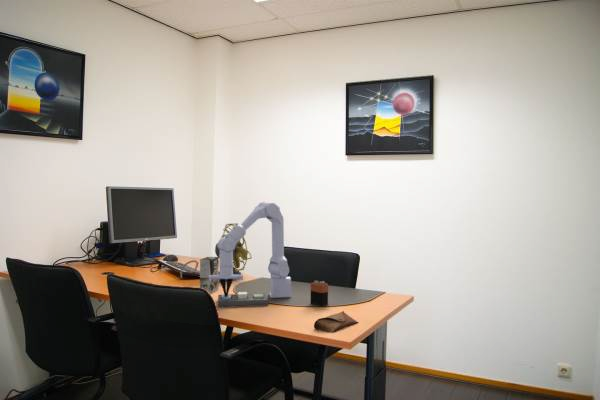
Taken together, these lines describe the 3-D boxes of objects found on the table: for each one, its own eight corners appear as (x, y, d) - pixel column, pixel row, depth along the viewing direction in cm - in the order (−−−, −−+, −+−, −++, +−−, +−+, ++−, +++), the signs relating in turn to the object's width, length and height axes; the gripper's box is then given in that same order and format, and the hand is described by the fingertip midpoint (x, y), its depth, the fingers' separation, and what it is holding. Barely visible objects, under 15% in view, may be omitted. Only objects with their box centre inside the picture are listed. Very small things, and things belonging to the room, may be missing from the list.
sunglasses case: (332, 333, 171) (325, 315, 173) (318, 339, 175) (311, 322, 177) (360, 322, 185) (352, 305, 187) (346, 328, 189) (339, 312, 191)
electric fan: (253, 280, 261) (253, 224, 260) (196, 287, 243) (196, 227, 242) (231, 272, 282) (231, 221, 281) (178, 278, 264) (178, 223, 263)
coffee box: (212, 293, 230) (212, 259, 229) (199, 292, 231) (199, 259, 231) (219, 289, 239) (219, 256, 238) (206, 288, 240) (206, 256, 240)
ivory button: (246, 298, 215) (246, 292, 215) (247, 300, 211) (247, 294, 211) (237, 299, 214) (237, 292, 214) (237, 301, 210) (237, 294, 210)
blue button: (230, 301, 214) (230, 295, 214) (230, 304, 210) (230, 297, 210) (221, 302, 213) (221, 295, 213) (221, 304, 209) (221, 297, 209)
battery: (321, 306, 208) (322, 283, 207) (310, 303, 212) (310, 280, 212) (328, 304, 211) (328, 281, 211) (316, 301, 216) (316, 279, 215)
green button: (262, 300, 216) (262, 294, 216) (263, 303, 212) (263, 296, 212) (253, 301, 215) (253, 294, 215) (254, 303, 212) (254, 296, 211)
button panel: (265, 298, 220) (265, 293, 220) (267, 305, 208) (267, 299, 208) (218, 300, 217) (218, 294, 217) (217, 307, 205) (217, 301, 205)
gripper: (208, 267, 206) (208, 299, 207) (243, 266, 208) (243, 298, 209) (209, 264, 213) (209, 295, 214) (242, 263, 215) (242, 294, 216)
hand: (226, 296), depth 212 cm, fingers closed, pressing on blue button
